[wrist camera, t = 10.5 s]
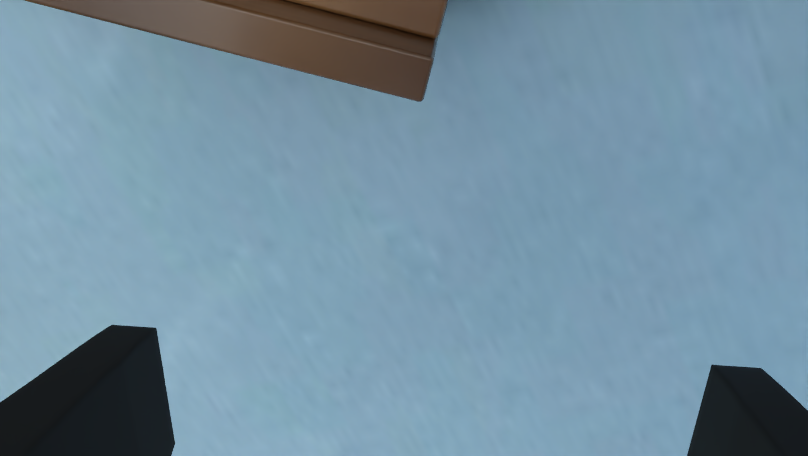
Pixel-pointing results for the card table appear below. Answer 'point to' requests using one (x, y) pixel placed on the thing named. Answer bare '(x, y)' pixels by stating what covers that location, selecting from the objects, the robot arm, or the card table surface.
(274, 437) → the card table surface
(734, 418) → the robot arm
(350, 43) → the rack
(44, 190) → the card table surface
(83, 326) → the card table surface
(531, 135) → the card table surface
